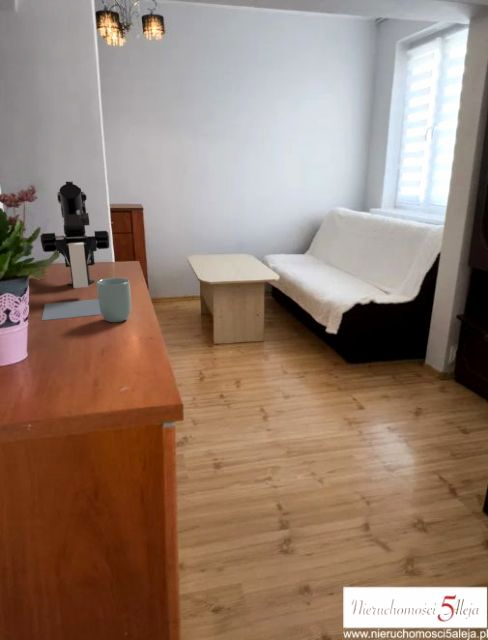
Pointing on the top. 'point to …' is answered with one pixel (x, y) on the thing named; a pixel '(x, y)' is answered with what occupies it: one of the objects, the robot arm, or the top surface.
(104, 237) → the robot arm
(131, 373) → the top surface
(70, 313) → the slate mat
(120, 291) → the cup
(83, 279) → the block
